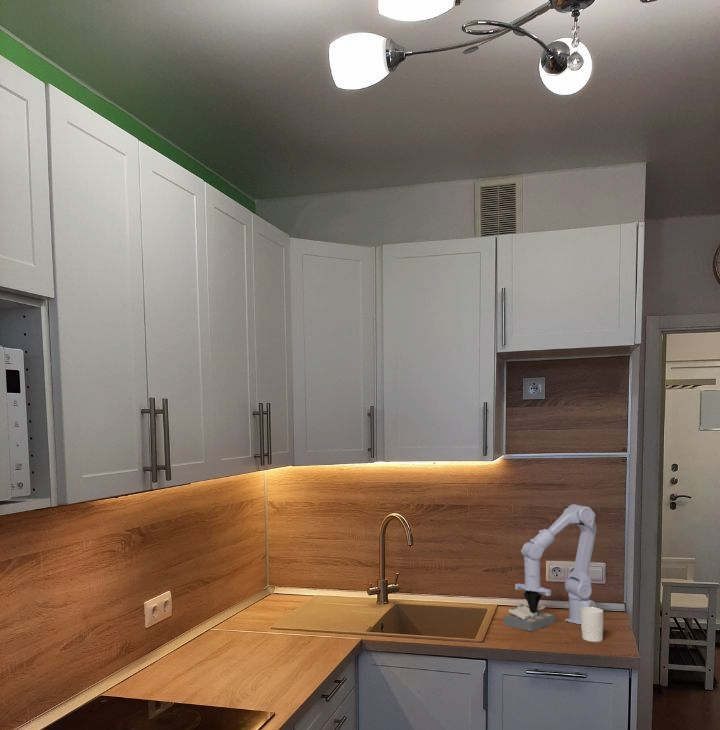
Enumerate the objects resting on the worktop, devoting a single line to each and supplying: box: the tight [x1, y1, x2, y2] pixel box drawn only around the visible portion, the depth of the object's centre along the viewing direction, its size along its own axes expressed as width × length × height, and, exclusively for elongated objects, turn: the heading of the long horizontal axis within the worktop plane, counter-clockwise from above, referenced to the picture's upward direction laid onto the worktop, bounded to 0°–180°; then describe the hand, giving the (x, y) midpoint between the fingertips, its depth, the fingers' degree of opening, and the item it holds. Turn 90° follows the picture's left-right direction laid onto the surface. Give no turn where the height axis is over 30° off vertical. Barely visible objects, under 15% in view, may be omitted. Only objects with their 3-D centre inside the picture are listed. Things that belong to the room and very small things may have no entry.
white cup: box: [580, 607, 604, 643], centre depth 230 cm, size 8×8×10 cm
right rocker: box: [527, 604, 546, 611], centre depth 252 cm, size 7×4×1 cm, turn 44°
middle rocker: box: [516, 603, 537, 617], centre depth 248 cm, size 7×4×1 cm, turn 41°
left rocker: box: [508, 606, 529, 620], centre depth 245 cm, size 7×4×1 cm, turn 41°
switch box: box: [503, 610, 556, 633], centre depth 247 cm, size 12×16×4 cm
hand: (533, 612), depth 246 cm, fingers closed
